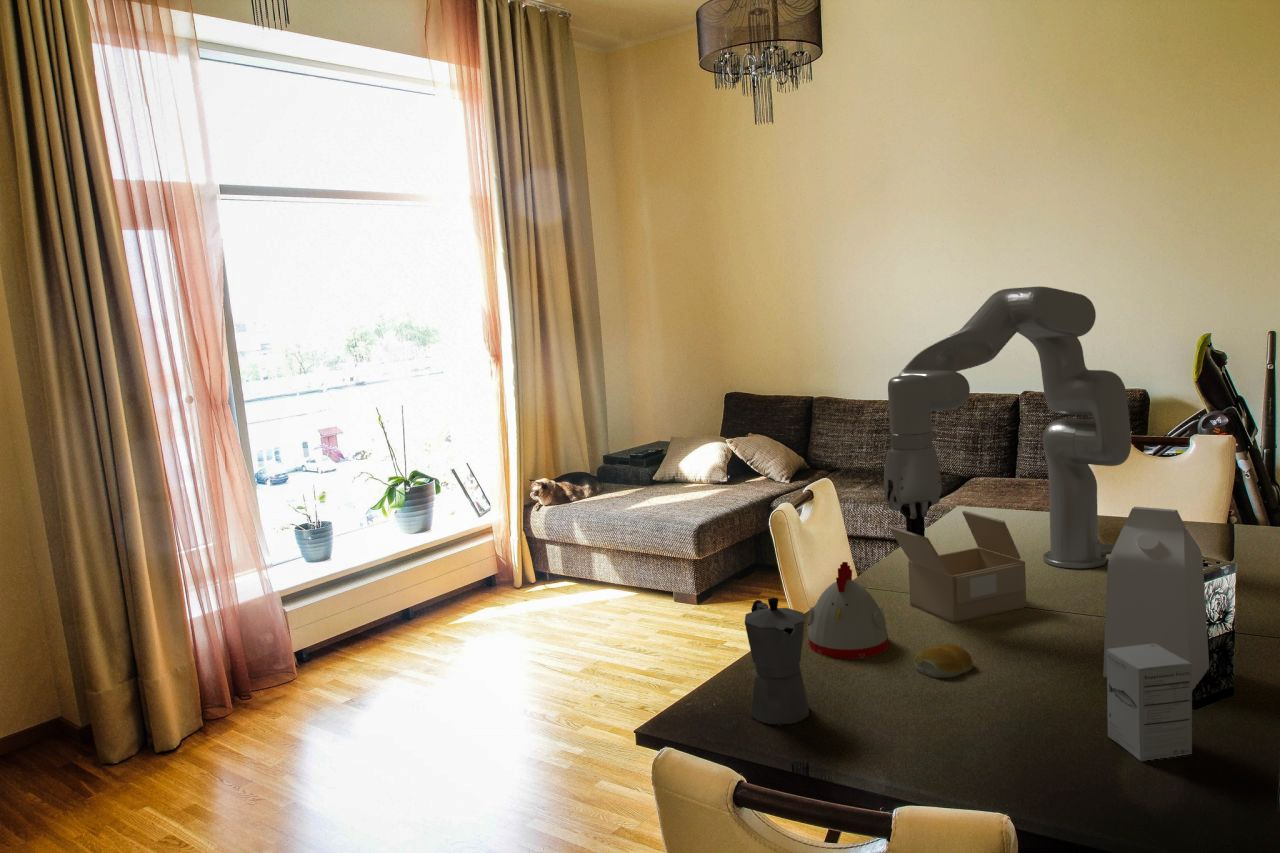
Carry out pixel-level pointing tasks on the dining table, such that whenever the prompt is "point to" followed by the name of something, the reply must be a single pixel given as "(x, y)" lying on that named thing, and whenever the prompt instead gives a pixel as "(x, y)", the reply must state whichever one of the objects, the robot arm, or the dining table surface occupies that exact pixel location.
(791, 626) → the coffeepot
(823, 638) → the kitchen timer
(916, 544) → the flap
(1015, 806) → the dining table surface
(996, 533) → the flap
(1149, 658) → the supplement box
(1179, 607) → the milk
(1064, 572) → the dining table surface
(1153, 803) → the dining table surface
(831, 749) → the dining table surface
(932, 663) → the bread roll
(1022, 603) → the carton
